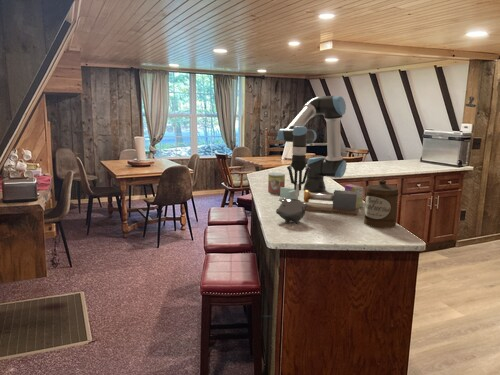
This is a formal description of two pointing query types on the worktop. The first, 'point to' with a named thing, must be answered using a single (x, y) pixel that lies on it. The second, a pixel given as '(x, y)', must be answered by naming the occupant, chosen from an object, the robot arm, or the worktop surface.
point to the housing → (344, 200)
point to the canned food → (275, 182)
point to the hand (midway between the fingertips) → (297, 195)
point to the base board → (327, 208)
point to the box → (359, 193)
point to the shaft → (316, 196)
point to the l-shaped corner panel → (287, 193)
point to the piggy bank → (291, 210)
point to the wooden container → (381, 205)
